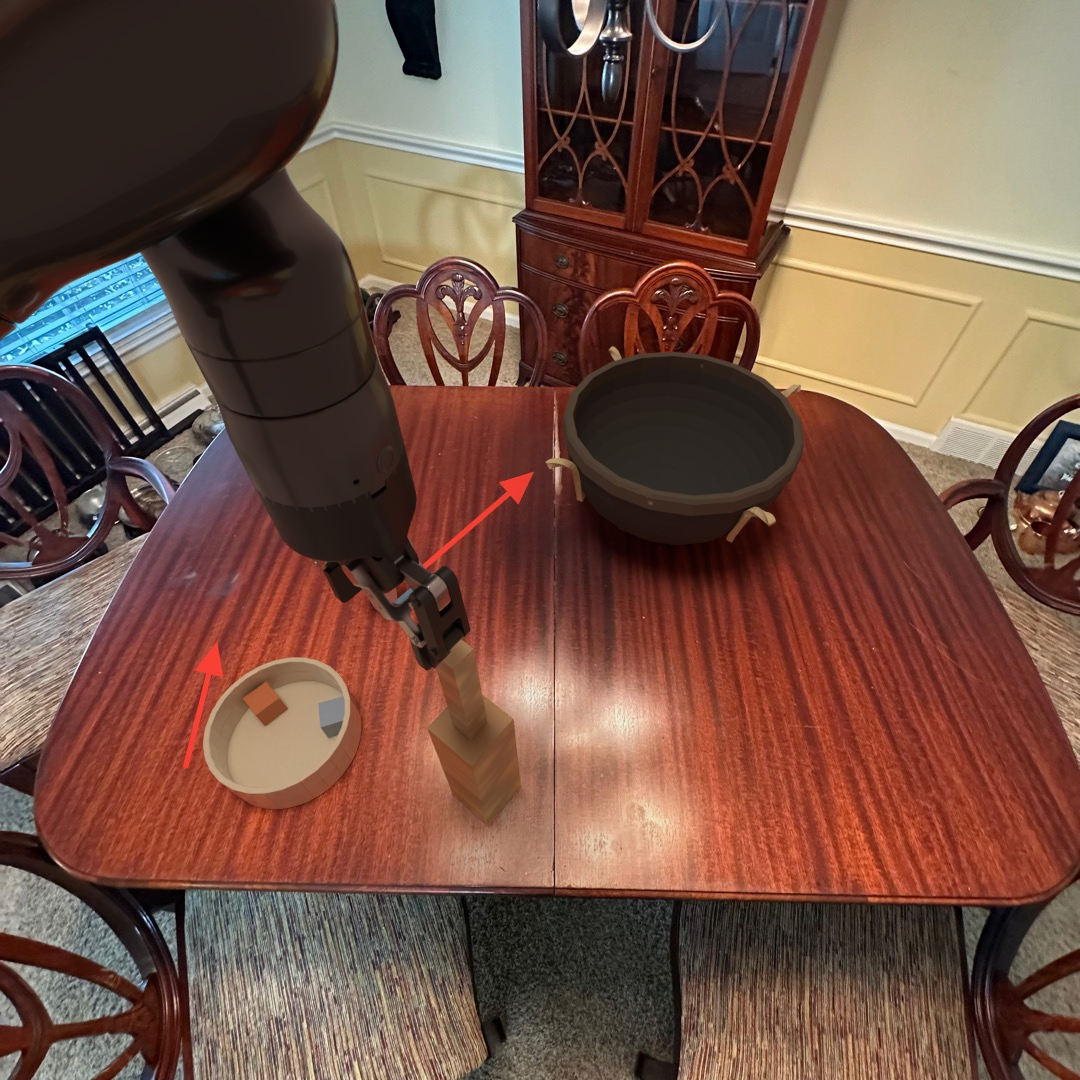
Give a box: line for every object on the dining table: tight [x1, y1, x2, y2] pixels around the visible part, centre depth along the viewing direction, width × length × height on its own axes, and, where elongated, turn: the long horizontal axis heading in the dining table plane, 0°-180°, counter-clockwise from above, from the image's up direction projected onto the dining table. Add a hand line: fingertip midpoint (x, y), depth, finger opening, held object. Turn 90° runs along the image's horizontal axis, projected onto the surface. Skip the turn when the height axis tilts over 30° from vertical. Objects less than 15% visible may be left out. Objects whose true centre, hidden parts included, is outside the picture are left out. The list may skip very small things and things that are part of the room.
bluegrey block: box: [318, 696, 345, 738], centre depth 78 cm, size 3×3×3 cm
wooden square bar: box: [435, 639, 487, 739], centre depth 53 cm, size 2×2×14 cm
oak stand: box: [426, 693, 522, 828], centre depth 66 cm, size 6×6×20 cm
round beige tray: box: [202, 656, 362, 810], centre depth 76 cm, size 17×17×6 cm
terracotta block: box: [243, 682, 288, 726], centre depth 79 cm, size 3×3×3 cm
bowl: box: [545, 345, 805, 546], centre depth 96 cm, size 35×35×20 cm
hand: (391, 624), depth 42 cm, fingers open, 8 cm apart
